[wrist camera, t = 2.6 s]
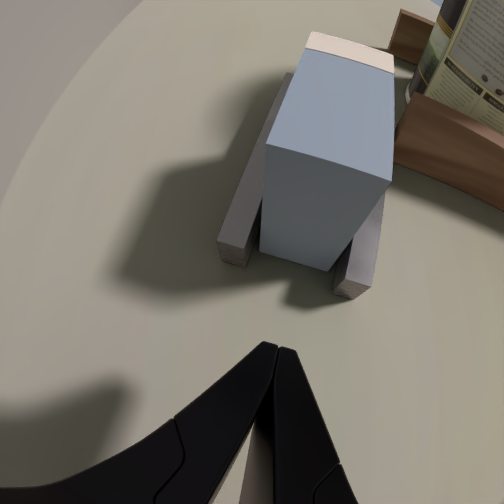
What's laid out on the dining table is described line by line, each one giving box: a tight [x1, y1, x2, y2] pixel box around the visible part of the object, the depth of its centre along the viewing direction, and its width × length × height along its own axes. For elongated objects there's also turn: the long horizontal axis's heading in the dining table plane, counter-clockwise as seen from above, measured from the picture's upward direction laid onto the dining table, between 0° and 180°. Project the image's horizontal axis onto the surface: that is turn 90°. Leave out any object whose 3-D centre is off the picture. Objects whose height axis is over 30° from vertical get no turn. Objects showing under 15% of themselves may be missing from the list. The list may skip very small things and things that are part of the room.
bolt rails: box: [216, 73, 385, 300], centre depth 16 cm, size 12×7×2 cm, turn 162°
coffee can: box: [405, 0, 504, 137], centre depth 13 cm, size 10×10×14 cm
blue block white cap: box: [259, 31, 394, 272], centre depth 13 cm, size 7×4×8 cm, turn 162°
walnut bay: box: [388, 9, 504, 211], centre depth 17 cm, size 15×14×5 cm
